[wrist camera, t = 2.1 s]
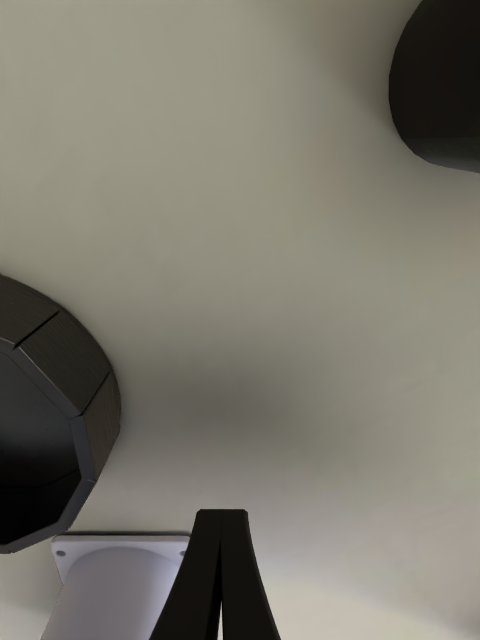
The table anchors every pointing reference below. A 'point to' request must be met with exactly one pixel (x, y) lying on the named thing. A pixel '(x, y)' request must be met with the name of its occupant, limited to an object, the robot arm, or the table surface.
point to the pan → (49, 416)
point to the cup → (439, 83)
